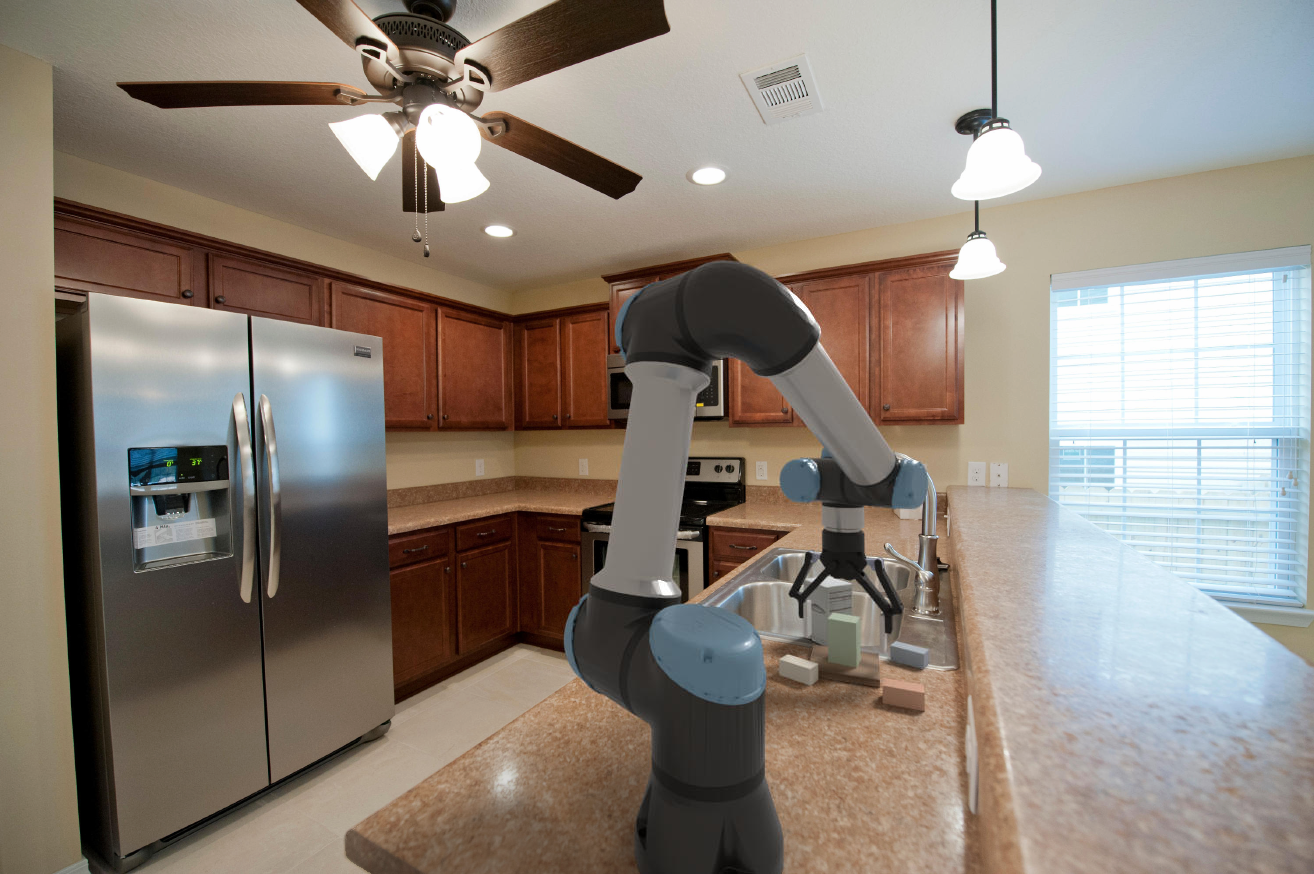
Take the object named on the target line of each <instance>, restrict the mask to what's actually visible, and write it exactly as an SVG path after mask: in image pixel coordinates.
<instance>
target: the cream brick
mask: <svg viewBox="0 0 1314 874" xmlns="http://www.w3.org/2000/svg"><path fill="white" fill-rule="evenodd" d="M778 661H779V662H778V663H779V664H778V666H779V668H778V670H779V671H778V673H779V676H781V677H785V678H787V679H790V680H792V681H796V682H798V683H802V684H805V685H807V686H812V685H813V684H814V683H815V684H816V682H818V680H819V677H818V664H817V663H814V662H811V661H810V660H808V659H804V658H800V657H797V656H794V655H792V654H786V655H784V656H782V657H781V658H779V659H778Z"/></svg>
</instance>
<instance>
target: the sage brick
mask: <svg viewBox="0 0 1314 874" xmlns="http://www.w3.org/2000/svg"><path fill="white" fill-rule="evenodd" d="M861 630H862V629H861V616H858V615H857V616H856V615H853V616H851V615H845V614H839V613H832V614H831V615H830V617H829V618H828V662H831V663H836V664H841V665H845V666H850V667H855V668H857V666H858V664H859V663H860V661H861V651H862V650H861V649H862V645H861V644H862V641H861V639H862V637H861V636H862V635H861V634H862V633H861Z"/></svg>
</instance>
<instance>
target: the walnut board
mask: <svg viewBox="0 0 1314 874" xmlns="http://www.w3.org/2000/svg"><path fill="white" fill-rule="evenodd" d="M811 650H812V651H811V653H810V654H811V655H810V659H809V661H811V662H814V663H817V664H818V678H822V679H829V680H835V681H840V682H846V683H852V684H853V683H854V684H859V685H865V686H872V687H876V688H877V687H878V688H881V674H880V673H881V671H880V670H881V669H880V656H879V655H880V654H879V653H878V652H870V651H862V650H861V661H860V663H859V664H858V666H857V668H855V667H850V666H845V665H841V664H836V663H831V662H828V646H822V645H821V644H813V647H812V649H811Z"/></svg>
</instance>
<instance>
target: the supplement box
mask: <svg viewBox="0 0 1314 874" xmlns="http://www.w3.org/2000/svg"><path fill="white" fill-rule="evenodd" d="M817 577H818V576H814V577H809V578H808V577H807V578H806V579H805V581H804V583H803V591H804V590H805V589H806V588H807V587H808V586H809V585H810V584H811V583H812V582H813V581H814V580H815V579H816V578H817ZM853 587H854V586H853V583H851V582H847V581H846V580H843V579H842V580H841V579H834V578H833V577H832V576H830V575H829V576H828V577H827V578H826V579H825V580H824V581H823V582H822V583H821V584H820V585H819V586H818V587H817V588H816V589H815V590H814V591H813V592H812V593H811V594H810V596H809V597H808V598H807V600H811V626H812V634H811V635H810V636H809V637H808V638H807V639H808V640H810V639H813V640H815V641H814V642H815V643H816V644H818V645H821V646H828V618H829V617H830V615H831V614H832V613H839V614H845V615H851V616H854V615H853V614H854V613H853V608H854V607H853V604H854V603H853V601H854V599H853V597H854V596H853ZM813 640H812V641H813Z"/></svg>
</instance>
